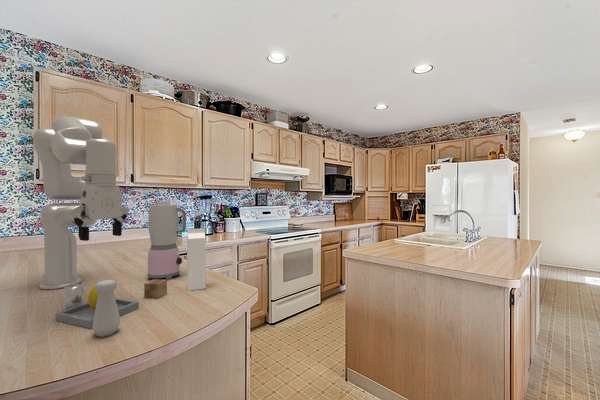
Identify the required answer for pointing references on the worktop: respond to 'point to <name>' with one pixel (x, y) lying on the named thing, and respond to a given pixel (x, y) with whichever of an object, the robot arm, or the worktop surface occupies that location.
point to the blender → (164, 240)
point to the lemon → (93, 298)
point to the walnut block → (155, 289)
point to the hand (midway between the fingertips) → (101, 237)
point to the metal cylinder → (73, 296)
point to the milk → (196, 259)
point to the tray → (92, 313)
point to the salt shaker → (106, 309)
